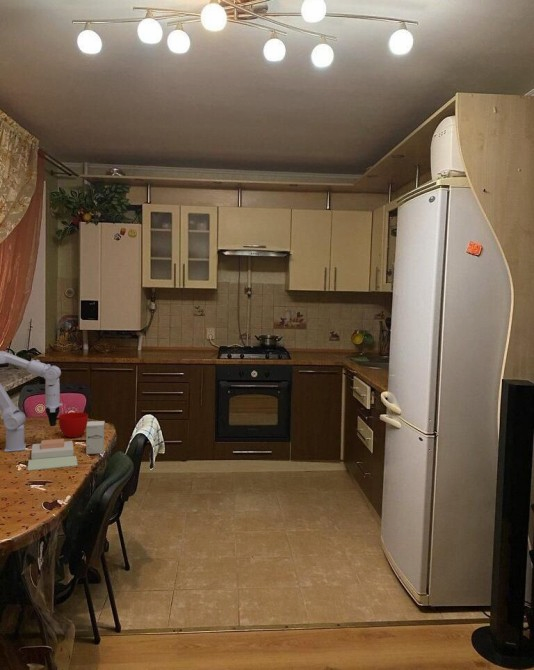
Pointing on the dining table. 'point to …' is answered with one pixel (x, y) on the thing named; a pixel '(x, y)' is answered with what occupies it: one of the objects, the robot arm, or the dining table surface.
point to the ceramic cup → (73, 423)
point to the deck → (52, 451)
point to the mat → (52, 463)
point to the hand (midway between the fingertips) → (52, 425)
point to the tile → (52, 443)
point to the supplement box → (95, 437)
